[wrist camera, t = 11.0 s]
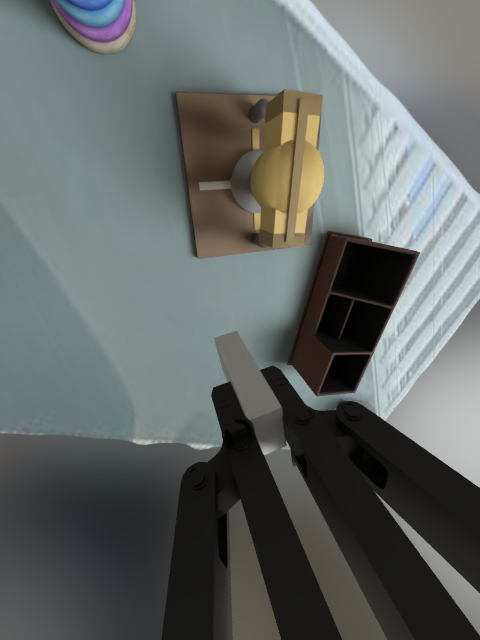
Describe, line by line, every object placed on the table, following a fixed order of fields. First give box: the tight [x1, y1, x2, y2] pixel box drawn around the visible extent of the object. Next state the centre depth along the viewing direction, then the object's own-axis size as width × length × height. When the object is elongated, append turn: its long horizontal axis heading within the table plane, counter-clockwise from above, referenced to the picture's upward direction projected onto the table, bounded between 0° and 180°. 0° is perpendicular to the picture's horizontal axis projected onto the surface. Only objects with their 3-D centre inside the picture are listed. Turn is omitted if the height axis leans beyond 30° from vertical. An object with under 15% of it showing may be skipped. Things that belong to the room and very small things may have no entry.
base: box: [176, 92, 322, 259], centre depth 34 cm, size 20×20×8 cm
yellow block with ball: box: [251, 89, 324, 248], centre depth 28 cm, size 14×7×5 cm, turn 179°
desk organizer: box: [287, 231, 420, 396], centre depth 48 cm, size 10×29×11 cm, turn 169°
